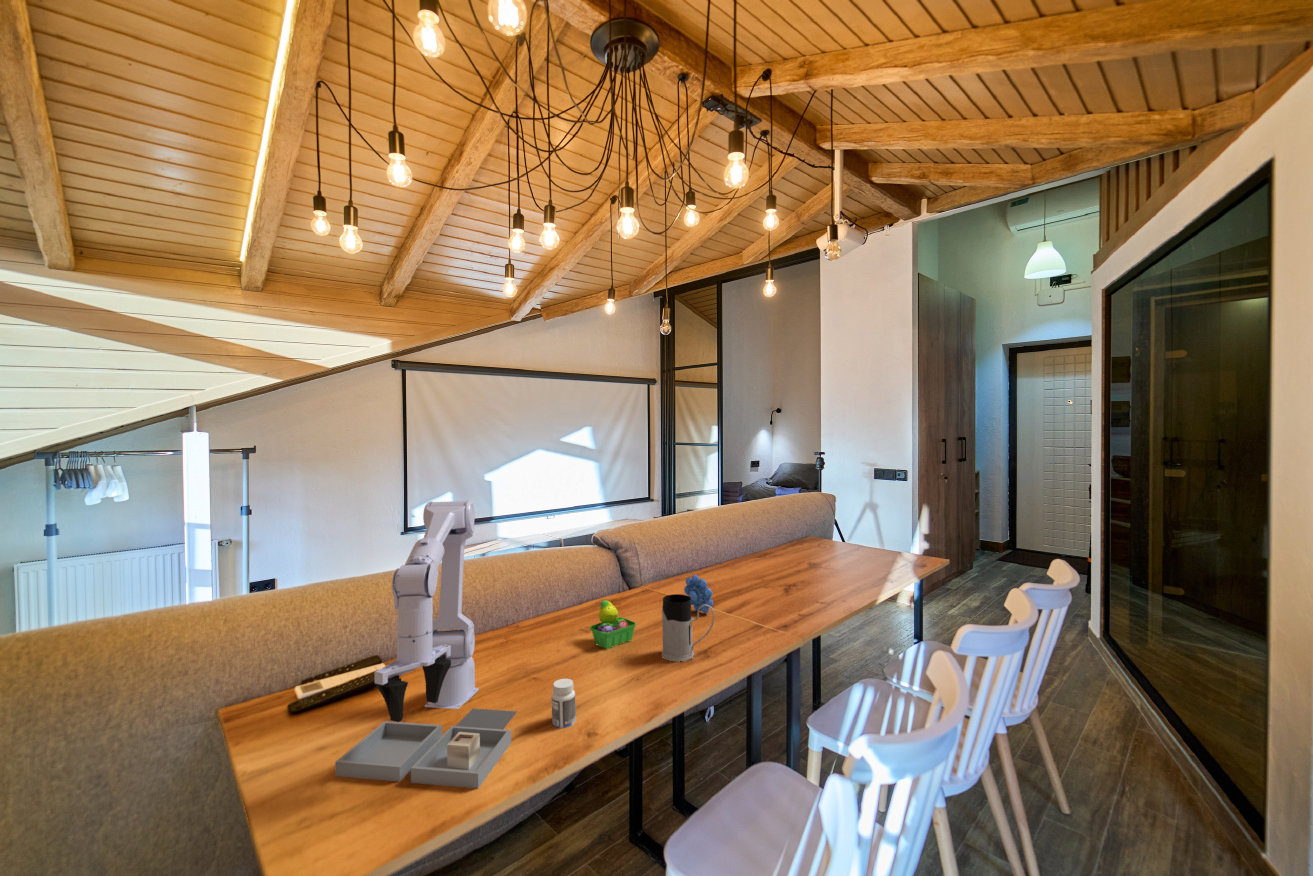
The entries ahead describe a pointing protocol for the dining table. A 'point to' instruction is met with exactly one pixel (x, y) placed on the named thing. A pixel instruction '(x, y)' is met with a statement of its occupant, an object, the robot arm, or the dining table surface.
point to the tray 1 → (388, 751)
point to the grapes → (698, 593)
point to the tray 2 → (437, 772)
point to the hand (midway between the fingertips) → (414, 710)
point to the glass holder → (678, 627)
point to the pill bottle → (563, 703)
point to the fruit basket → (611, 627)
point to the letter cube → (463, 750)
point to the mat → (487, 719)
